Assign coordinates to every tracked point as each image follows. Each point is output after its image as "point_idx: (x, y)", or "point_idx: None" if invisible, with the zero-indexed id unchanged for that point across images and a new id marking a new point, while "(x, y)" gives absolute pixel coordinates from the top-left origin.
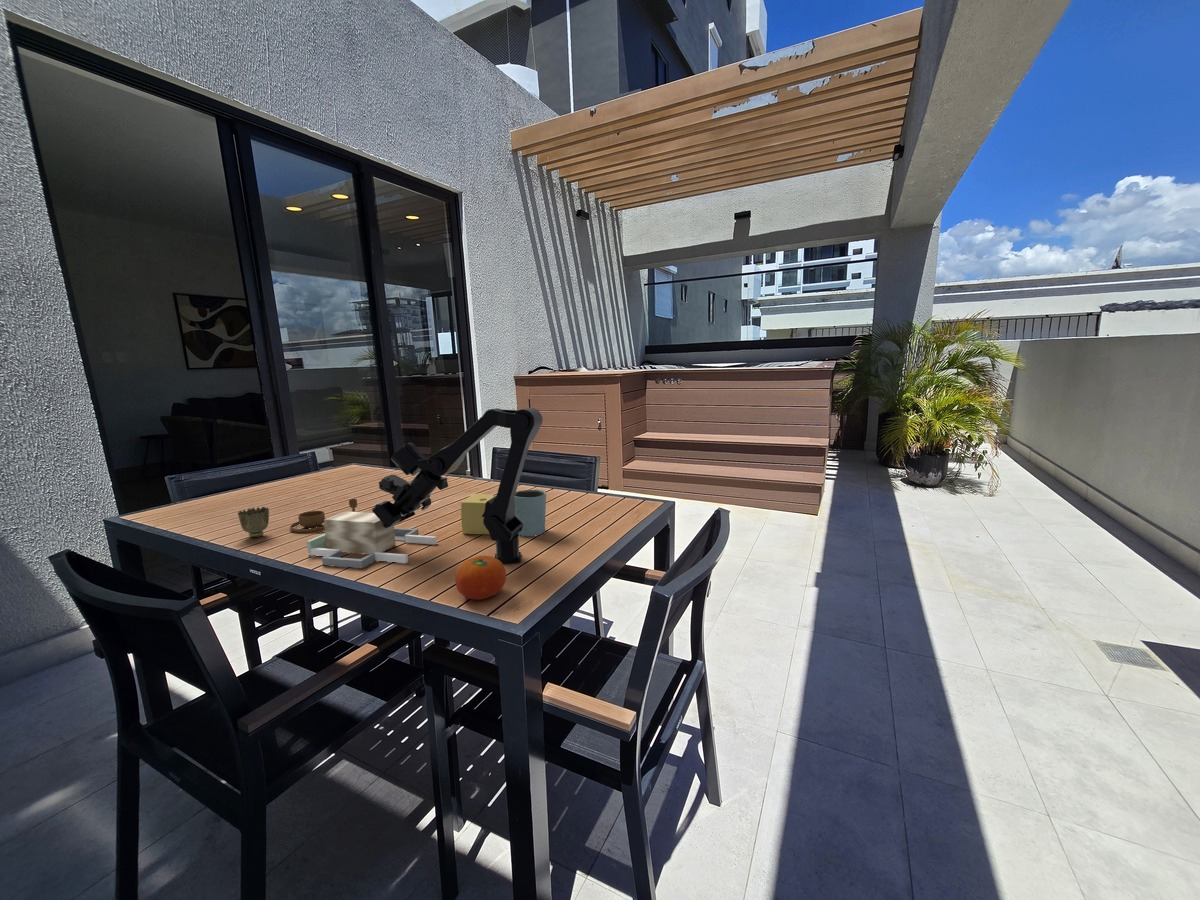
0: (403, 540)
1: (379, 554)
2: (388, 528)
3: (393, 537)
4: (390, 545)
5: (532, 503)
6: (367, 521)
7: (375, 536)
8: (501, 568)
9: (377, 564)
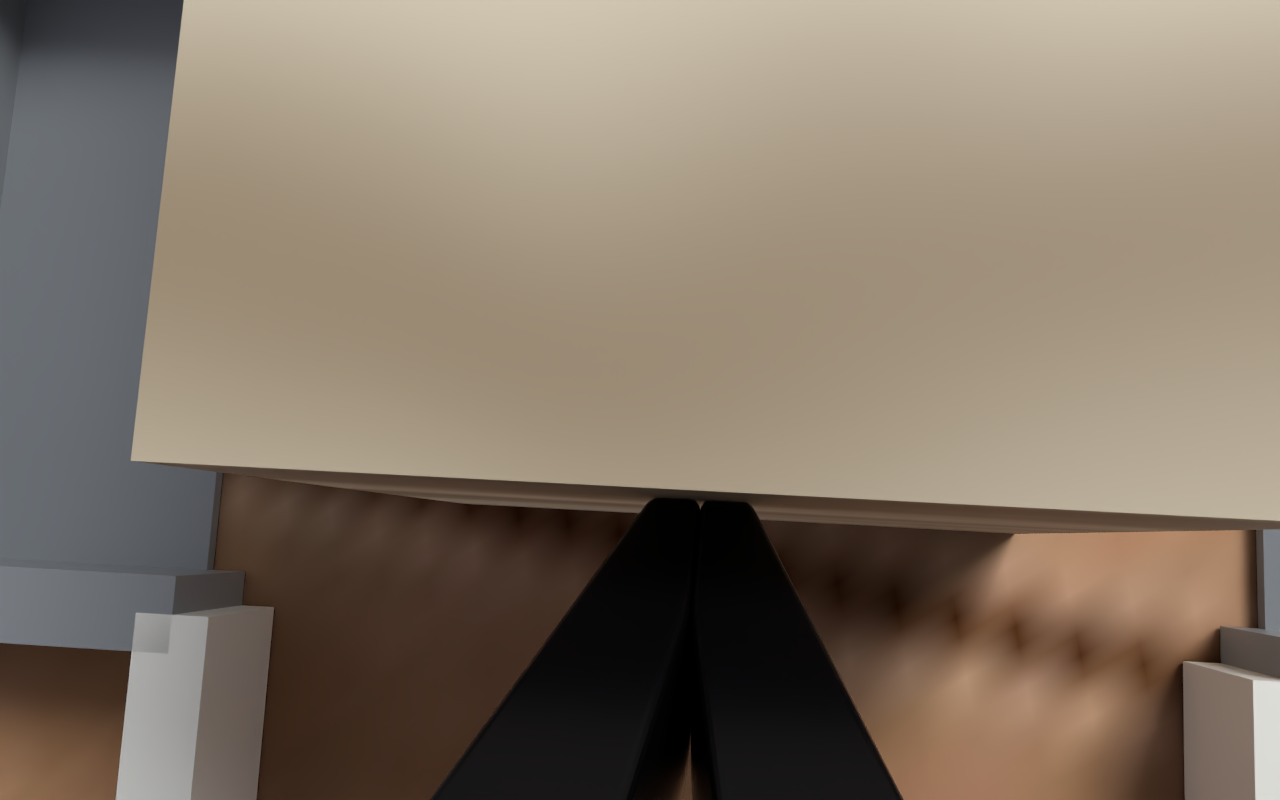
0: (1263, 576)
1: (123, 755)
2: (894, 515)
3: (1014, 530)
4: (867, 524)
5: None
6: (250, 105)
7: (332, 486)
8: None
9: (85, 754)
